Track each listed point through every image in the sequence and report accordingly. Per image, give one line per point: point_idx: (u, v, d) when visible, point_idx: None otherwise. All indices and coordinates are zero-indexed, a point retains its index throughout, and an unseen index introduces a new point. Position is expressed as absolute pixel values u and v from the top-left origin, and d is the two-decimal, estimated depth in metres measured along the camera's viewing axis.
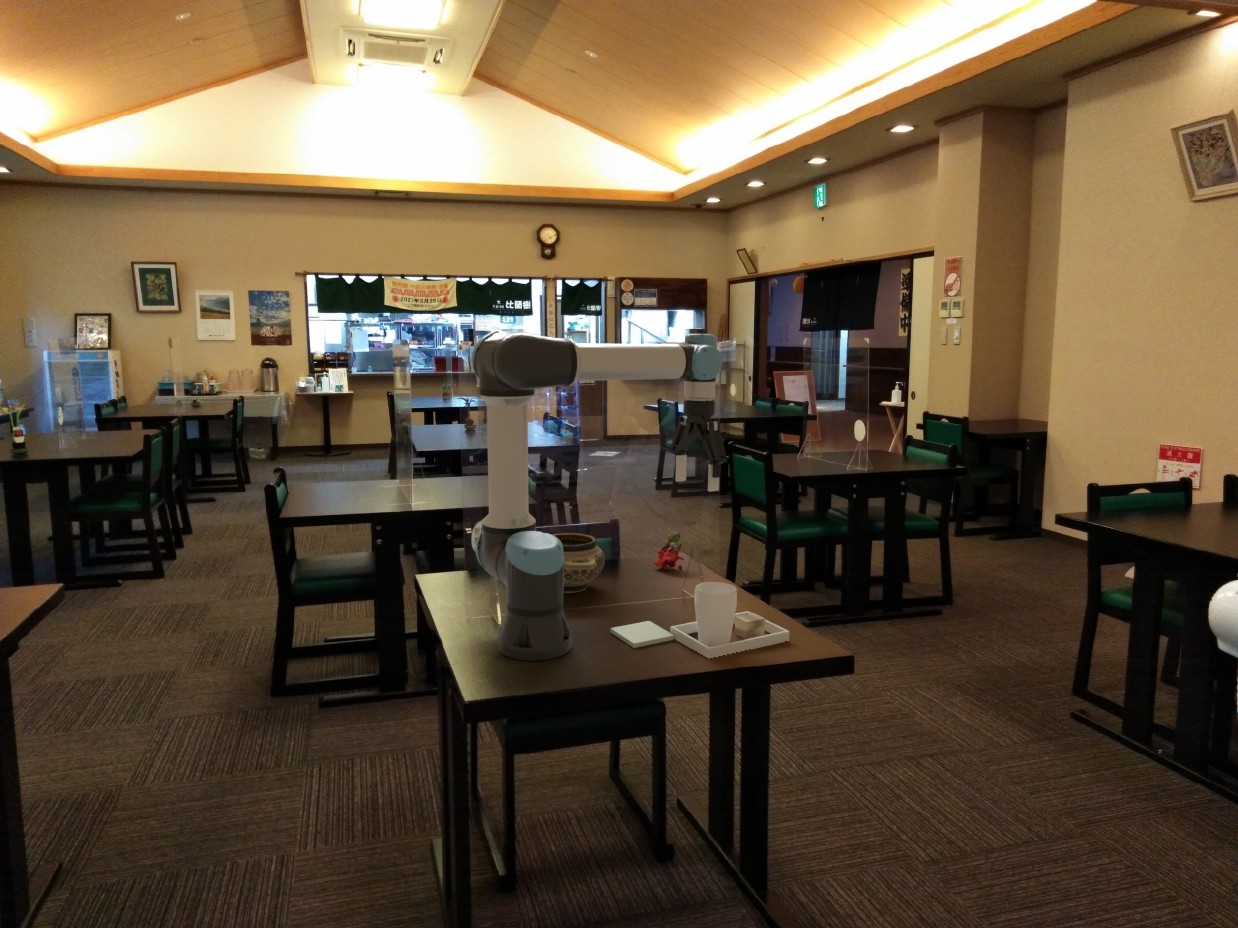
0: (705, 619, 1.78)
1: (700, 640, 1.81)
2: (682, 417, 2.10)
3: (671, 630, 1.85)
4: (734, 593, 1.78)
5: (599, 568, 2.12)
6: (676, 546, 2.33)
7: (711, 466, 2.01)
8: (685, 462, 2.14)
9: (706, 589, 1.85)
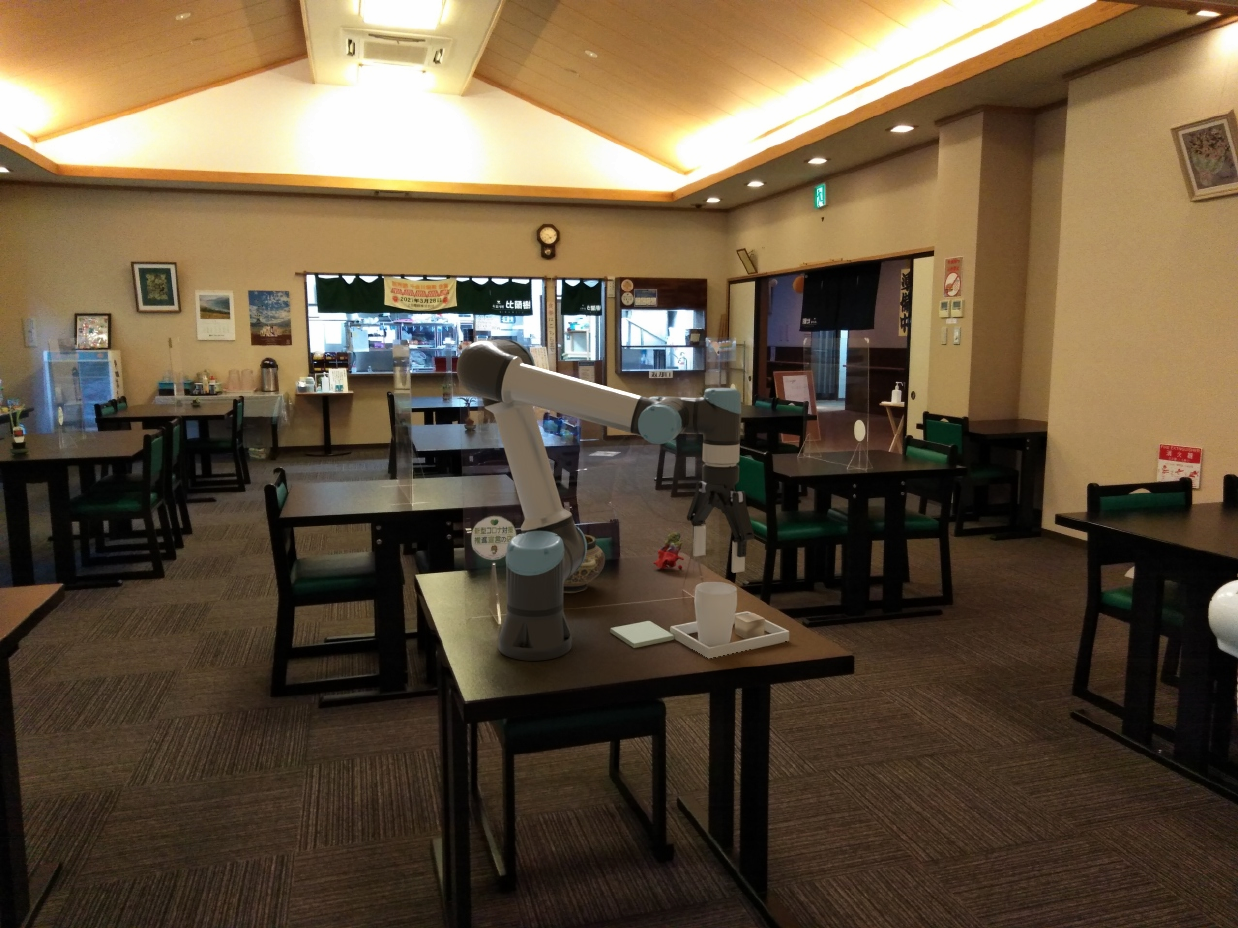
0: (705, 619, 1.78)
1: (700, 640, 1.81)
2: (700, 483, 1.81)
3: (671, 630, 1.85)
4: (734, 593, 1.78)
5: (599, 568, 2.12)
6: (676, 546, 2.33)
7: (735, 543, 1.72)
8: (704, 534, 1.85)
9: (706, 589, 1.85)
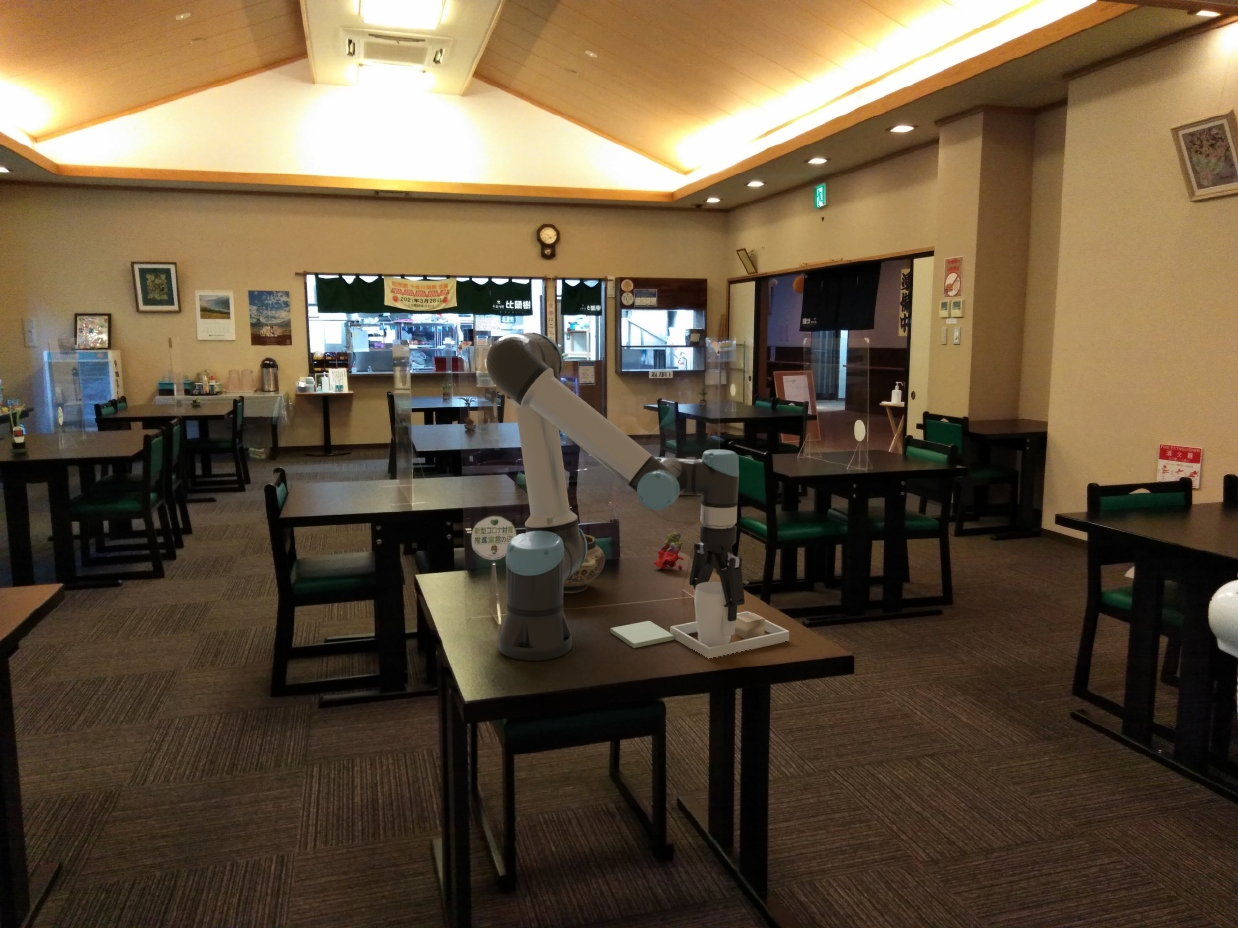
0: (705, 619, 1.78)
1: (700, 640, 1.81)
2: (698, 544, 1.84)
3: (671, 630, 1.85)
4: None
5: (599, 568, 2.12)
6: (676, 546, 2.33)
7: (726, 608, 1.76)
8: None
9: (706, 589, 1.85)
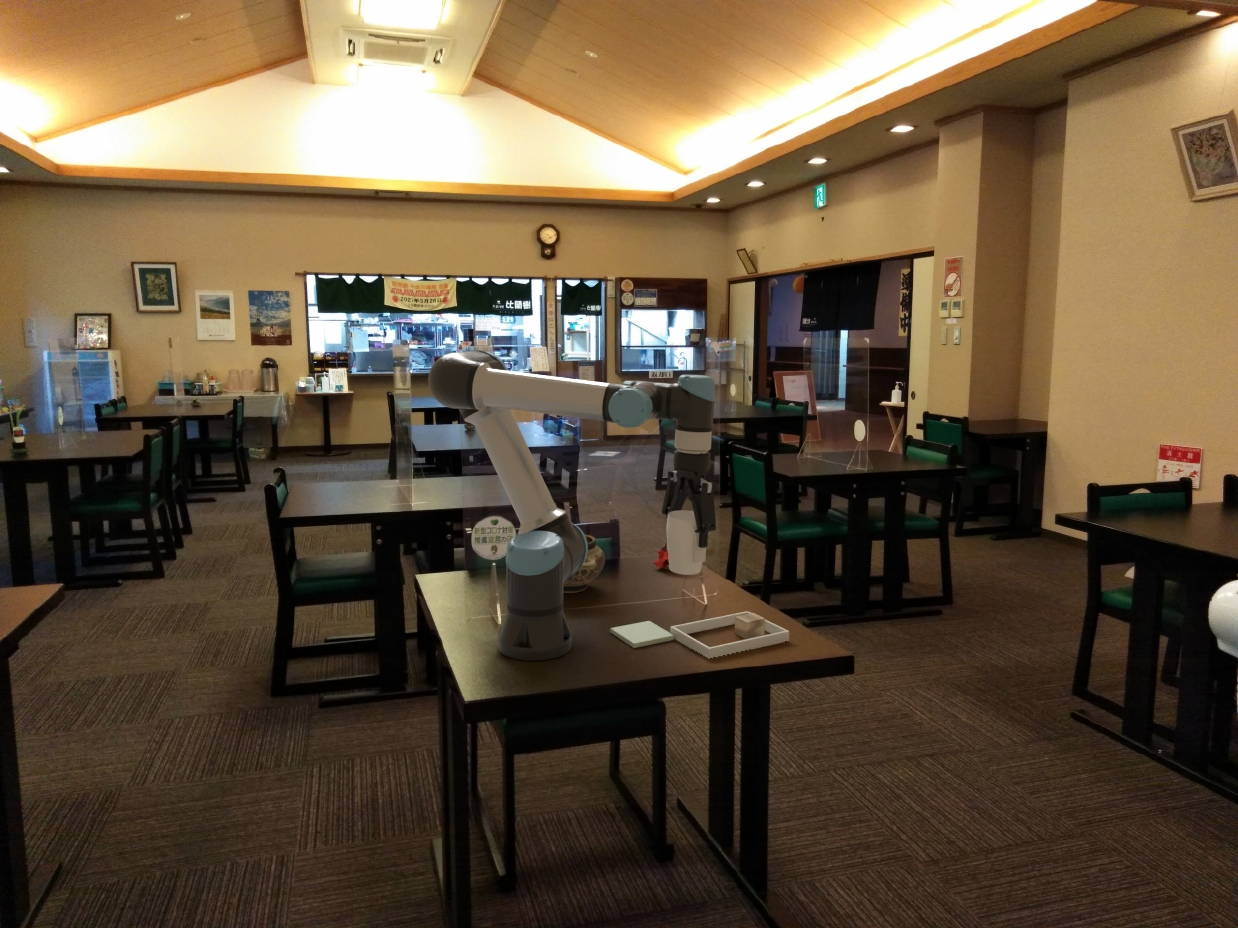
0: (676, 545, 1.77)
1: (671, 567, 1.80)
2: (672, 472, 1.82)
3: (671, 630, 1.85)
4: None
5: (599, 568, 2.12)
6: None
7: (697, 534, 1.74)
8: None
9: (679, 518, 1.83)
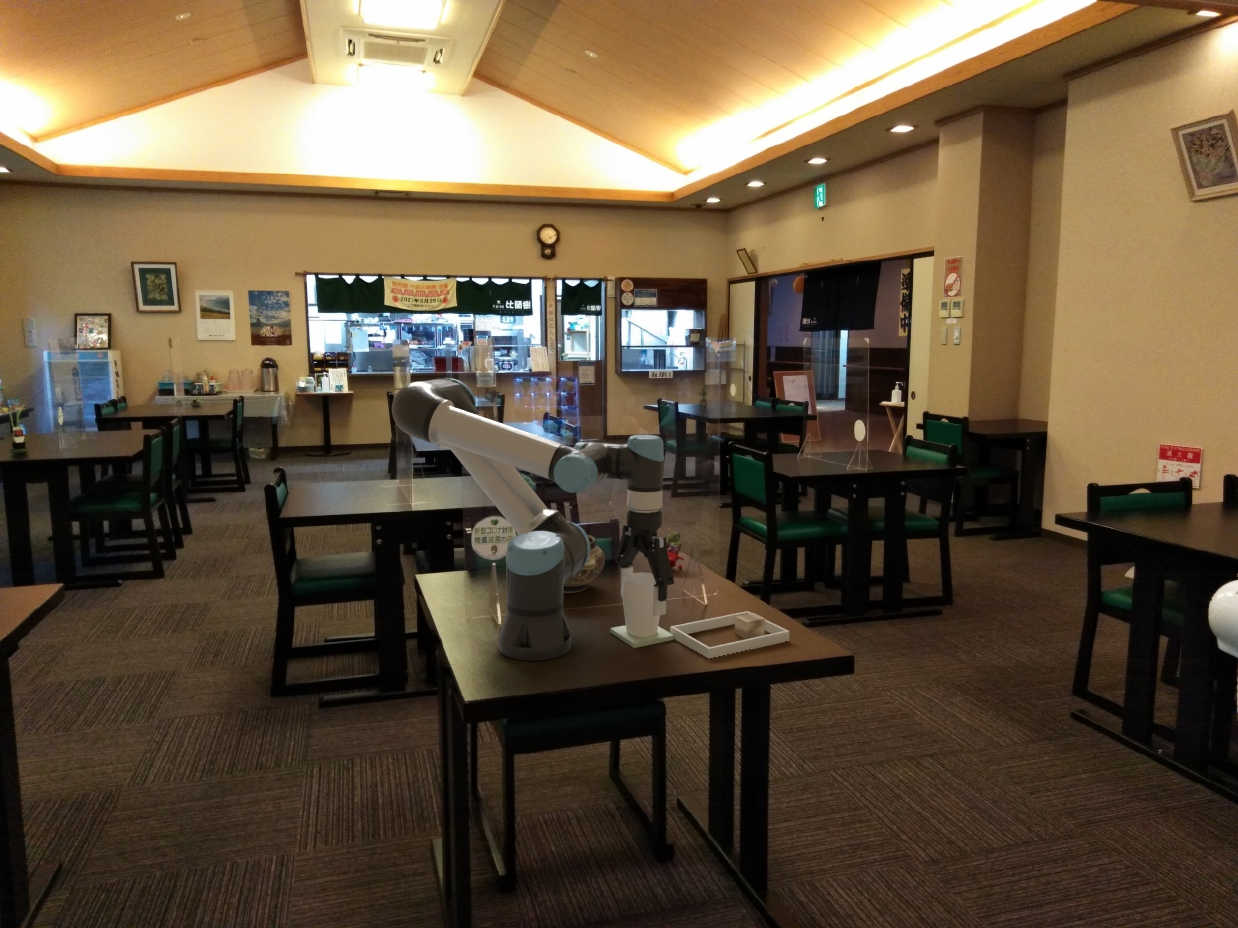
0: (631, 609, 1.81)
1: (627, 630, 1.83)
2: (627, 526, 1.86)
3: (671, 630, 1.85)
4: None
5: (599, 568, 2.12)
6: (676, 546, 2.33)
7: (656, 588, 1.76)
8: None
9: (634, 580, 1.87)
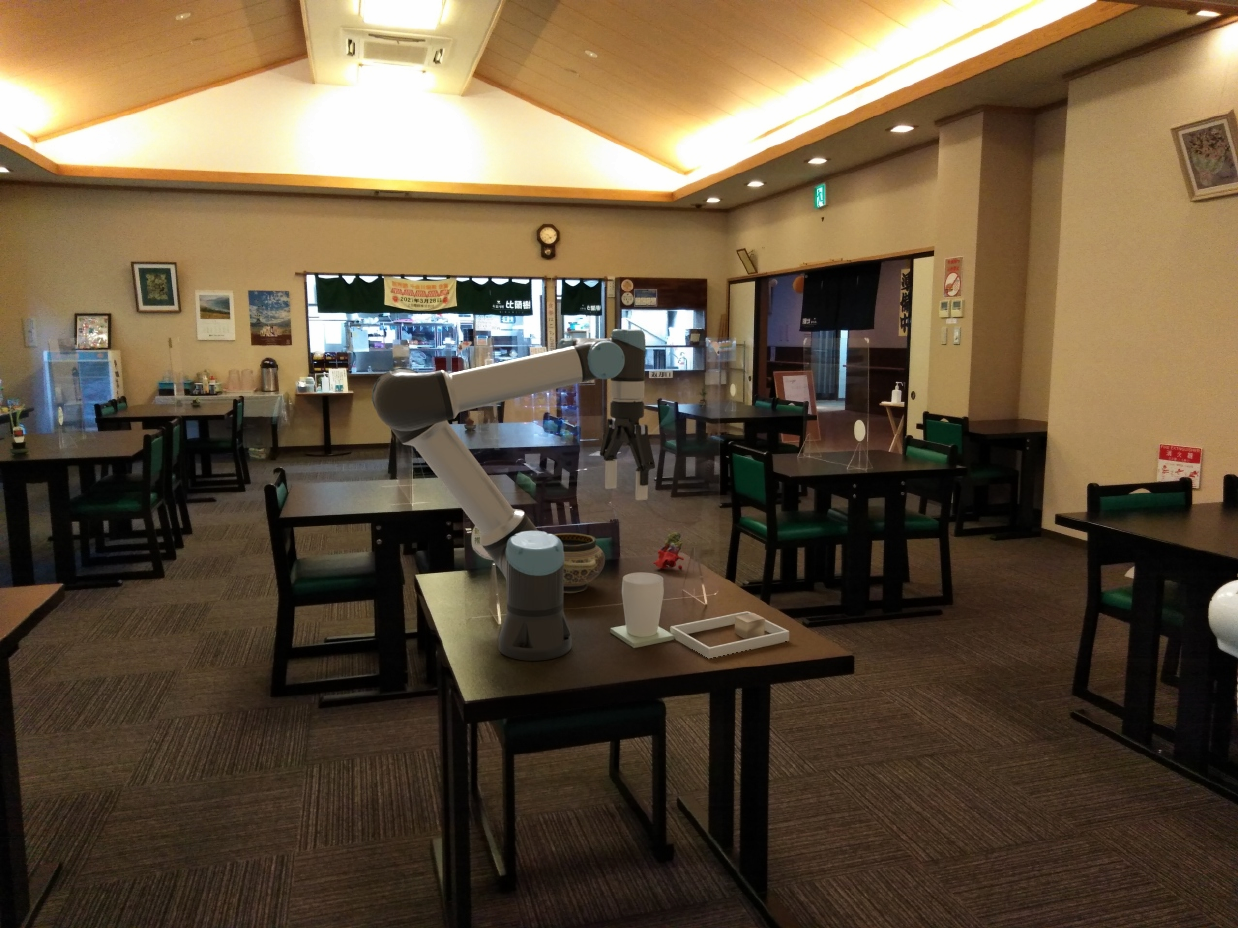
0: (631, 609, 1.81)
1: (627, 630, 1.83)
2: (611, 419, 1.95)
3: (671, 630, 1.85)
4: (660, 583, 1.81)
5: (599, 568, 2.12)
6: (676, 546, 2.33)
7: (638, 473, 1.85)
8: (615, 468, 1.98)
9: (634, 580, 1.87)
